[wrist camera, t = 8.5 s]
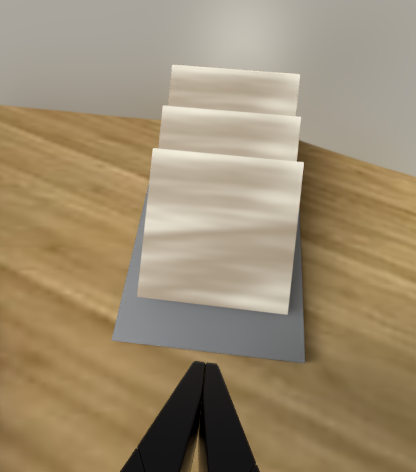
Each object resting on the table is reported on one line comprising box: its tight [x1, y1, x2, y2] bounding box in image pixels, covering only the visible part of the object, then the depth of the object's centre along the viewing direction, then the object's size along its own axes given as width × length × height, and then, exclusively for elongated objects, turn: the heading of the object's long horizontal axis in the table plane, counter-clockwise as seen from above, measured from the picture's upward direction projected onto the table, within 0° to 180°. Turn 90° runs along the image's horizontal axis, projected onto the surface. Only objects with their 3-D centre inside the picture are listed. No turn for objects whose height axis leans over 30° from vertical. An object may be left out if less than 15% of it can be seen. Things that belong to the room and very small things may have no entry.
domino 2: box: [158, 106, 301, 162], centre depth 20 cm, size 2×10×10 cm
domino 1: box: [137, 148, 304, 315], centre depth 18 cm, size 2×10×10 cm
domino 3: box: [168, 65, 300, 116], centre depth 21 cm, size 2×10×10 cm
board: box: [112, 185, 305, 363], centre depth 21 cm, size 16×13×1 cm
